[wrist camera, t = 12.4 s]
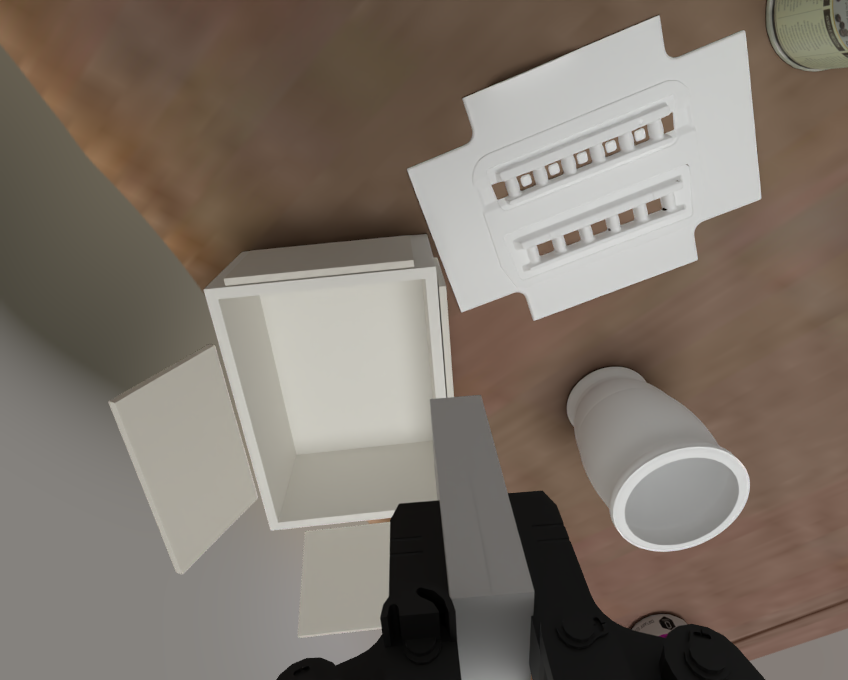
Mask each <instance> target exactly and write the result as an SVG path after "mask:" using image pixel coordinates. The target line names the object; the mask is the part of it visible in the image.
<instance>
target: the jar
mask: <svg viewBox="0 0 848 680" xmlns="http://www.w3.org/2000/svg"><path fill="white" fill-rule="evenodd" d="M567 415H568V418H569V420H570V422H571V424H572V425H573V426H574V432H575V438H576V442H577V445H578V448H579V452H580V456H581V460H582V463H583V466H584V469H585V471H586V474H587V476H588V478H589V480H590V482H591V484H592V485H593V487H594V489H595V490H596V492H597V493H598V495H599V496H600V497H601V499H602V500H603V501H604V503H605V504H606V505H607V506H608V507H609V510H610V516H611V519H612V522H613V524H614V526H615V527H616V529H617V530H618V531H619V533H620V534H621V535H622V537H623V538H624V539H626V540H627V541H628V542H630V543H631V544H633V545H635V546H637V547H640V548H642V549H646V550H651V551H662V552H665V551H677V550H682V549H686V548H690V547H693V546H696V545H699V544H701V543H703V542H706V541H708V540H709V539H711V538H713V537H715V536H716V535H718V534H719V533H721V532H722V531H723V530H725V529H726V528H727V527H728V526H729V525H730V524H731V523H732V522H733V521H734V520H735V519H736V518H737V517H738V515H739V514H740V513H741V511H742V509H743V508H744V506H745V504H746V501H747V499H748V495H749V490H750V481H749V476H748V473H747V470H746V469H745V467H744V465H743V464H742V463H741V462H740V461H739V460H738V459H737V458H736V457H735V456H734V455H733V454H732V453H730V452H729V451H728V450H726V449H724V448H722V447H720V446H719V445H718V443H717V442H716V440H715V438H714V437H713V436H712V434H711V433H710V431H709V430H708V429H707V428H706V426H705V425H704V424H703V423H702V422H701V421H700V420H699V419H698V418H697V417H696V416H695V415H694V414H693V413H692V412H691V411H690V410H689V409H687V408H686V407H685V406H684V405H682V404H681V403H679V402H678V401H677V400H675V399H673V398H672V397H670V396H668V395H667V394H666V393H664V392H663V391H661V390H660V389H658V388H657V387H655V386H653V385H651V384H649V383H646V381H645V379H644V378H643V377H642V376H641V375H640V374H638V373H637V372H635V371H633V370H631V369H628V368H624V367H606V368H602V369H599V370H596V371H594V372H592V373H590V374H588V375H587V376H585V377H584V378H583V379H581V380H580V381H579V382H578V383H577V384H576V385H575V387H574V388H573V390H572V391H571V393H570V395H569V398H568V401H567Z"/></svg>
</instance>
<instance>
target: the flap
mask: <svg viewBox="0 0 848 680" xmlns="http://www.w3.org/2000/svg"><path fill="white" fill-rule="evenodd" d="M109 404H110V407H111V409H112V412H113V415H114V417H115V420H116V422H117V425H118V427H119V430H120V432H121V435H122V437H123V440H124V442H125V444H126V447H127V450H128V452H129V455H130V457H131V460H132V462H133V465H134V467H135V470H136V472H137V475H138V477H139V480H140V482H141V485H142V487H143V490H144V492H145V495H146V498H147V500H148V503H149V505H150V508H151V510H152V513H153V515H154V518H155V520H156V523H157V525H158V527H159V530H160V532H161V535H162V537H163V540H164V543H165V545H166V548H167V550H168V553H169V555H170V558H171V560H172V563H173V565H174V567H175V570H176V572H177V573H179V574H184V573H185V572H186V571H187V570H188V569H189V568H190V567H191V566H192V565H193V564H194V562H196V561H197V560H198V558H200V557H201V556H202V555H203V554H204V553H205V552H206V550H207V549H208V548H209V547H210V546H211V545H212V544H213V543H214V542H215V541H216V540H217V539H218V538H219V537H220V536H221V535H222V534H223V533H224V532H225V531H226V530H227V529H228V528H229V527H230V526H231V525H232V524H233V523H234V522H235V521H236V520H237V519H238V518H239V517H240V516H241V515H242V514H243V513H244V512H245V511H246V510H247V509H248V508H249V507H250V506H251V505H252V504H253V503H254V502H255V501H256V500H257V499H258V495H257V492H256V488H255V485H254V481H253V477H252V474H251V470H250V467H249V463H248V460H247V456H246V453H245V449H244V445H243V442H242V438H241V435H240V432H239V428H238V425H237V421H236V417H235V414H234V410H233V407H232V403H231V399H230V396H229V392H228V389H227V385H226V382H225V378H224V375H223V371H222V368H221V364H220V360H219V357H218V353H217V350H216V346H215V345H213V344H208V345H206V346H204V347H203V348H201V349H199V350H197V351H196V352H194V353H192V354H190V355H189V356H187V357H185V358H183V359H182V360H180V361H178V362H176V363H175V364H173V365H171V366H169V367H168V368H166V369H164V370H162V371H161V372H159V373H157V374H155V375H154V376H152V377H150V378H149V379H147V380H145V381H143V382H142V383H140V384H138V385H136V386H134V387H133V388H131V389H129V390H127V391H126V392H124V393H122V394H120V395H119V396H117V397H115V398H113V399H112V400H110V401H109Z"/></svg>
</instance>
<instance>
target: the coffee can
mask: <svg viewBox="0 0 848 680" xmlns="http://www.w3.org/2000/svg"><path fill="white" fill-rule="evenodd" d="M766 28H767V33H768V35H769V38H770V42H771V44H772V47H773V48H774V50H775V51H776V53H777V54H778V55H779V57H780V58H781V59H782V60H783V61H785V62H786V63H788V64H789V65H791V66H792V67H794V68H797V69H801V70H804V71H823V70H827V69H834V68H845V67H848V0H767V6H766Z"/></svg>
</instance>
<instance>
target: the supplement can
mask: <svg viewBox="0 0 848 680" xmlns="http://www.w3.org/2000/svg"><path fill="white" fill-rule="evenodd" d="M680 625H687V623H686V622H685V621H684V620H683V619H680V618H678V617H676V616H672V615H670V614H656V615H651V616H649V617H646V618H644V619H642V620H641V621H639V622H638V623H636V624H635V626H634V627H633V628H632V630H634V631H638V632H642V633H646V634H651V635H655V636H660V637H664V638H666V637H667V635H668V632H670V631H671V630H673V629H674V628H676V627H677V626H680Z"/></svg>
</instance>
